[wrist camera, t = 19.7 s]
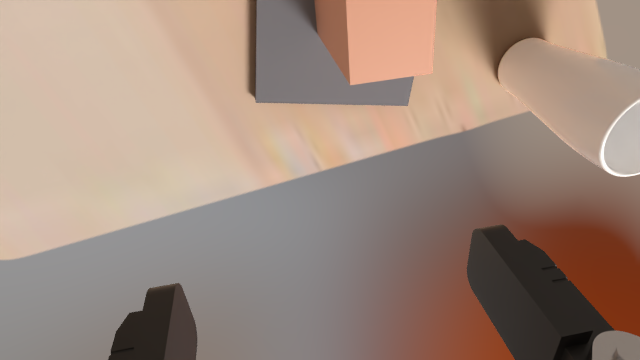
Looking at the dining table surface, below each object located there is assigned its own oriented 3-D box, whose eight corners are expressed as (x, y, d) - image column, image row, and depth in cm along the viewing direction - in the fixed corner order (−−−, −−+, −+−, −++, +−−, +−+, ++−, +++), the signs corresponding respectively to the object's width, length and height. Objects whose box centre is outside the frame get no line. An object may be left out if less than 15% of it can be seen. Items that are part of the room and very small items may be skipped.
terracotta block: (317, 33, 35) (350, 85, 25) (311, -34, 32) (345, -7, 22) (376, 25, 35) (432, 73, 25) (375, -42, 33) (438, -19, 23)
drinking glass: (550, 13, 38) (702, 66, 26) (560, 77, 42) (696, 150, 30) (480, 50, 39) (594, 118, 27) (495, 110, 43) (602, 193, 30)
